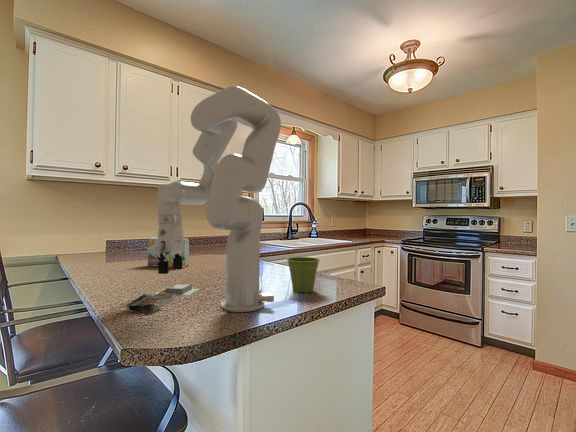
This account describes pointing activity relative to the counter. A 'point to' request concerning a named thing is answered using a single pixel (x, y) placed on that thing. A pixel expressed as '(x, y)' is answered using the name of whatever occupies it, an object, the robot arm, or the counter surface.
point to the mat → (176, 294)
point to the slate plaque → (178, 289)
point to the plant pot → (303, 273)
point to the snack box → (153, 259)
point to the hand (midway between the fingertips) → (171, 271)
